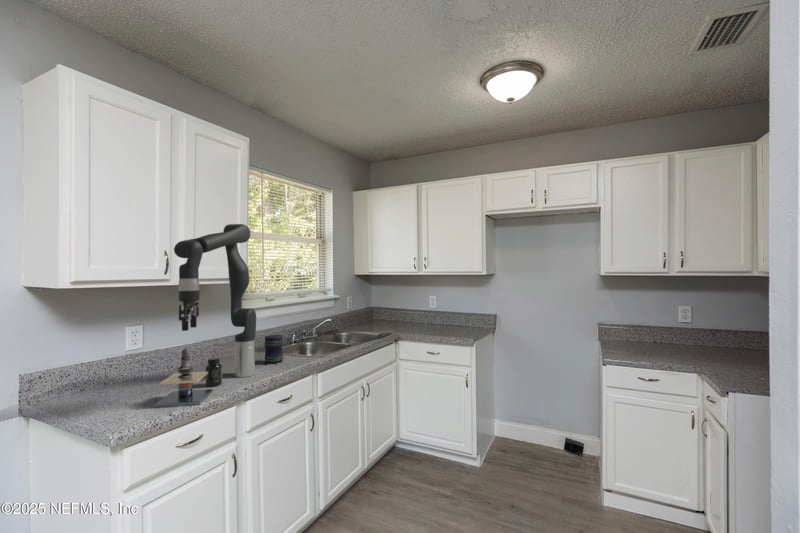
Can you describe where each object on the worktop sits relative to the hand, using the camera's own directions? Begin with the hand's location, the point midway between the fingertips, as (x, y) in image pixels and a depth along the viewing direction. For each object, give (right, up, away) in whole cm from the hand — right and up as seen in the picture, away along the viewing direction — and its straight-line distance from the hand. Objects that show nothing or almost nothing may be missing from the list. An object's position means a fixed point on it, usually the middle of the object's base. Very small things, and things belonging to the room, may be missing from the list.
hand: (189, 328), depth 156 cm
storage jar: (+15, -29, +60) cm, 68 cm away
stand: (-1, -28, -2) cm, 28 cm away
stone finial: (-1, -19, -1) cm, 19 cm away
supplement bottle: (+1, -29, +18) cm, 34 cm away
